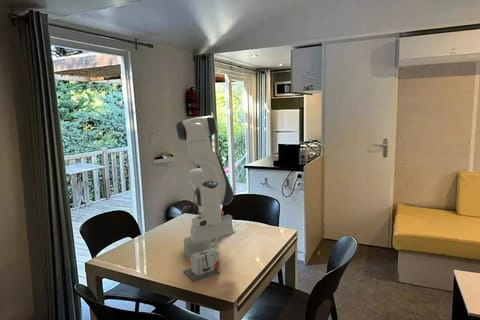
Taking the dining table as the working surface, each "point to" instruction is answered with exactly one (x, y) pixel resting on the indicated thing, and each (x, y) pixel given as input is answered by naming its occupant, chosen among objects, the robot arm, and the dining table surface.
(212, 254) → the ink box
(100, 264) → the dining table surface
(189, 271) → the mat
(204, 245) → the grey chunky block
